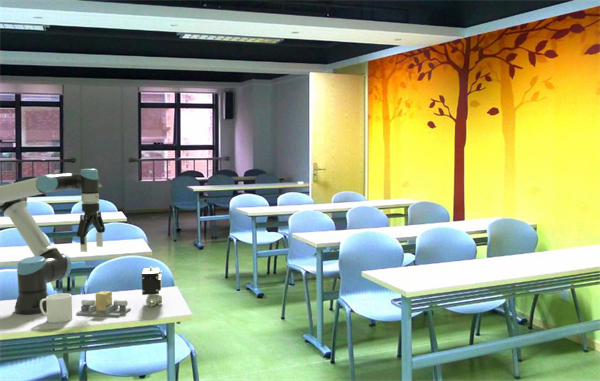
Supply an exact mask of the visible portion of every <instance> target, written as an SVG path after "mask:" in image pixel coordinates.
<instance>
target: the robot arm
mask: <svg viewBox="0 0 600 381" xmlns="http://www.w3.org/2000/svg"><path fill="white" fill-rule="evenodd" d="M99 181H100V180H99V171H98V170H97V169H96V168H84V169H83V168H81V169H80V172H79V173H77V172H76V173H74V172H63V173H51V174H50V173H47V174H42V175H40V176H38V177H33V178H30V179H25V180H21V181H17V182H13V183H12V182H11V183H6V184H0V211H1V213H2V214H3V215H4V217H8V218H9V219H10V220H11V222H12V223H13V225H14V226H15V228H16V229H17V231H18V233H19V234H20V236H21V237H22V239H23V240H24V242H25V243H26V245H27V247H28V248H29V250H30V252H31V253H32V255H33V256H32V257H30V256H29V257H26V258H23V259H21V260H20V261H19V262H18V263H17V270H16V272H17V273H16V274H17V287H18V288H17V289H18V290H17V293H18V295H17V298H16V299H17V300H16V303H15V305H14V313H15V314H18V315H33V314H34V315H35V314H41V313H42V312H41V309H40V301H41V300H42V299H46V297H47V296H49V294H48V290H47V287H48V285H47V284H49V283H52V282H55V281H59V280H62V279H64V278H67V277H68V276H69V274H70V273H71V270H72V260H71V259H70V256H68V255H67V254H66V253H61V252H60V251H59V249H58V248H57V247H54V246H52V245H51V244H50V242H49V240H48V239H47V237H46V236H45V234H44V233H43V231H42V230H41V228H40V227H39V224H37V222H36V220H35V219H34V217H33V215H32V214H31V212H30V211H29V208H27V207H28V198H29V197H33V196H38V195H42V194H48V193H53V192H58V191H71V190H80V191H81V192H80V193H81V194H80V197H81V212H83V213H84V214H80V215H79V217H80V218H79V224H78V227H77V232H76V237H78V238H79V239H80V240H79V243H80V244H79V245H80V252H84V253H86V252H87V253H88V240H87V239H88V237H87V233H88V231H89V228H90V226H91V225H92V224H93V226H94V228H95V230H96V234H95V236H96V237H95V238H96V247H98V248H99V247H101V248H102V247H104V246H103V245H104V243H103V233H105V230H106V227H105V225H104V220H103V218H102V211H100V203H99V202H100V194H99V193H100V191H99ZM42 307H43V310H44V312H45V313H46V312H47V305H46V301H43V303H42Z"/></svg>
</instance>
